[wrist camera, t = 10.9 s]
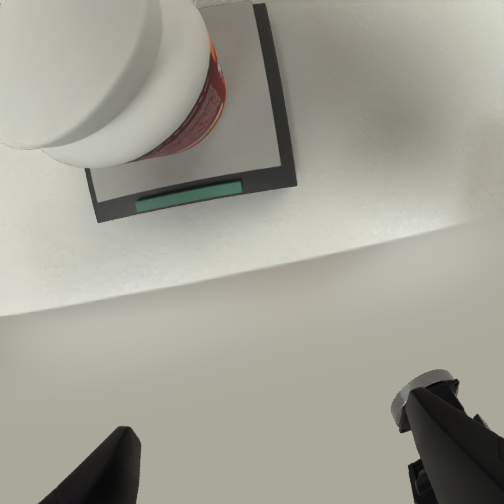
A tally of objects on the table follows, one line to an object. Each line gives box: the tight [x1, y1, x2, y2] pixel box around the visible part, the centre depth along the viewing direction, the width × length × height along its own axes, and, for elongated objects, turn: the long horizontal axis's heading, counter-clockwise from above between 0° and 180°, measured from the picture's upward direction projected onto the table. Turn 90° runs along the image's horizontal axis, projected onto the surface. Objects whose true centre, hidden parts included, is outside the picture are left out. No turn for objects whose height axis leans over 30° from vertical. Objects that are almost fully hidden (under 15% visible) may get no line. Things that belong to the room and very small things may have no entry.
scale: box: [85, 1, 297, 223], centre depth 16 cm, size 11×12×3 cm
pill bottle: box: [0, 0, 227, 168], centre depth 9 cm, size 6×6×11 cm
